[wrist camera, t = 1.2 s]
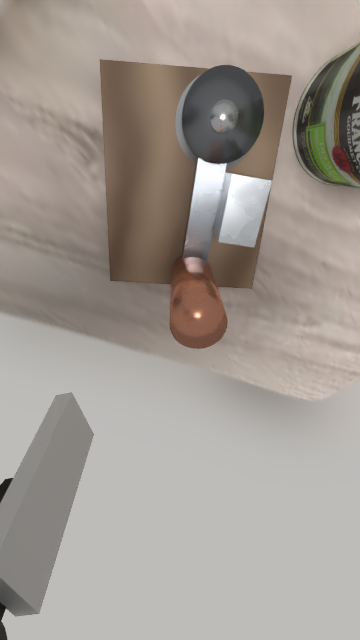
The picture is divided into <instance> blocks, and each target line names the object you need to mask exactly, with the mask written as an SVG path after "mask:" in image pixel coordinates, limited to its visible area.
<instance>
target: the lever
mask: <svg viewBox="0 0 360 640" xmlns="http://www.w3.org/2000/svg"><path fill="white" fill-rule="evenodd" d="M263 120H264V103H263V98H262V94H261V91H260V89H259V87H258V85H257V83H256V82H255V80H254V79H253V78H252V77H251V76H250V75H249V74H248V73H247V72H246V71H244V70H243V69H240V68H238V67H235V66H231V65H220V66H216V67H213V68H211V69H209V70H207V71H205V72H204V73H203V74H201V75H200V76H199V77H198V78H197V79H196V80H195V81H194V83H193V84H192V85H191V87H190V89H189V91H188V93H187V95H186V98H185V101H184V105H183V110H182V120H181V125H182V133H183V137H184V140H185V142H186V144H187V146H188V148H189V149H190V151H191V152H192V153H193V154H194V155H195V156H196V157H197V165H196V171H195V177H194V184H193V190H192V196H191V203H190V209H189V216H188V222H187V228H186V235H185V241H184V247H183V254H182V256H181V257H179V258H178V259H177V260H176V261H175V263H174V265H173V267H172V280H171V305H170V330H171V333H172V335H173V337H174V338H175V339H176V340H177V341H178V342H179V343H180V344H182V345H184V346H186V347H190V348H197V349H198V348H206V347H209V346H211V345H213V344H215V343H216V342H218V341H219V340H220V339H221V338H222V336H223V335H224V333H225V331H226V328H227V317H226V313H225V310H224V307H223V304H222V301H221V298H220V295H219V292H218V289H217V286H216V283H215V280H214V277H213V273H212V270H211V267H210V265H209V263H208V256H209V251H210V246H211V241H212V236H213V233H214V235H215V237H216V239H217V241H218V242H221V243H227V244H234V245H240V246H247V247H254V246H255V243H256V239H257V235H258V232H259V228H260V224H261V220H262V217H263V213H264V209H265V205H266V202H267V198H268V194H269V190H270V187H271V183H272V181H271V180H266V179H261V178H255V177H250V176H244V175H238V174H232V173H226V172H225V171H226V166H227V163H230V162H233V161H235V160H237V159H239V158H241V157H242V156H244V155H245V154H246V153H247V152H248V151H249V150H250V149H251V148H252V147H253V145H254V144H255V142H256V140H257V139H258V137H259V134H260V132H261V129H262V125H263Z"/></svg>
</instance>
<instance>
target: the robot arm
mask: <svg viewBox="0 0 360 640" xmlns="http://www.w3.org/2000/svg"><path fill="white" fill-rule="evenodd" d="M93 435H94V434H93V432H92V430H91V428H90V426H89V424H88V422H87V420H86V418H85V417H84V415H83V413H82V411H81V409H80V407H79V405H78V403H77V402H76V399H75V398H74V396H73V394H72V393H67V394H62V395H57V396H56V397H55V399H54V401H53V402H52V404H51V406H50V408H49V410H48V412H47V414H46V416H45V418H44V420H43V422H42V424H41V426H40V428H39V430H38V432H37V434H36V435H35V438H34V439H33V441H32V443H31V445H30V447H29V449H28V451H27V453H26V455H25V457H24V458H23V460H22V462H21V465H20V466H19V468H18V470H17V472H16V474H15V476H14V478H10V479H5V480H4V482H3V483H2V484H1V485H0V640H7V635H6V631H5V627H4V625H3V623H2V622H1V620H2V617H3V614H4V612H5V609H7V610H9V611H10V612H11V613H12V614H13V615H14V616H23V615H32V614H39V612H40V609H41V606H42V603H43V599H44V596H45V593H46V589H47V586H48V583H49V580H50V576H51V573H52V569H53V567H54V563H55V560H56V557H57V553H58V550H59V547H60V543H61V540H62V537H63V534H64V530H65V527H66V524H67V521H68V517H69V514H70V511H71V507H72V504H73V501H74V498H75V494H76V491H77V488H78V485H79V481H80V478H81V475H82V471H83V468H84V465H85V462H86V458H87V455H88V451H89V449H90V445H91V442H92V439H93Z"/></svg>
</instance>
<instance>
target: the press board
mask: <svg viewBox="0 0 360 640" xmlns="http://www.w3.org/2000/svg"><path fill="white" fill-rule="evenodd" d="M207 70H209V69H207V68H195V67H183V66H171V65H159V64H147V63H135V62H124V61H112V60H100V72H101V93H102V114H103V135H104V156H105V176H106V197H107V218H108V239H109V260H110V281H125V282H143V283H161V284H171V280H172V267H173V265H174V263H175V261H176V260H177V259H178V258H179V257H181V256H182V254H183V247H184V241H185V235H186V228H187V222H188V216H189V209H190V203H191V196H192V190H193V184H194V177H195V171H196V165H197V157H196V156H195V155H194V154H193V153H192V152H191V151H190V149H189V148H188V146H187V144H186V142H185V140H184V137H183V133H182V125H181V120H182V110H183V105H184V101H185V98H186V95H187V93H188V91H189V89H190V87H191V85H192V84H193V83H194V81H195V80H196V79H197V78H198V77H199V76H200V75H201V74H203V73H204V72H205V71H207ZM247 73H248V74H249V75H250V76H251V77H252V78H253V79H254V80H255V82H256V83H257V85H258V87H259V89H260V91H261V94H262V98H263V103H264V120H263V125H262V129H261V132H260V134H259V137H258V139H257V140H256V142H255V144H254V145H253V147H252V148H251V149H250V150H249V151H248V152H247V153H246V154H245V155H244V156H242V157H241V158H239V159H237V160H235V161H233V162H230V163H227V166H226V171H225V172H226V173H232V174H238V175H244V176H250V177H255V178H261V179H266V180H271V181H272V179H273V173H274V168H275V163H276V157H277V152H278V147H279V142H280V136H281V131H282V126H283V120H284V115H285V110H286V104H287V99H288V94H289V88H290V83H291V78H292V76H290V75H278V74H266V73H254V72H247ZM271 184H272V183H271ZM270 189H271V187H270ZM269 195H270V190H269V194H268V198H267V202H266V205H265V209H264V213H263V217H262V220H261V224H260V228H259V232H258V235H257V239H256V243H255V246H254V247H247V246H240V245H234V244H227V243H221V242H218V241H217V239H216V237H215V235H214V233H213V236H212V241H211V246H210V251H209V256H208V263H209V265H210V267H211V270H212V273H213V277H214V280H215V283H216V286H217V287H233V288H251V289H252V285H253V280H254V275H255V269H256V264H257V259H258V253H259V248H260V243H261V237H262V232H263V227H264V221H265V216H266V211H267V205H268V200H269Z"/></svg>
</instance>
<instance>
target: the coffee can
mask: <svg viewBox="0 0 360 640" xmlns="http://www.w3.org/2000/svg"><path fill="white" fill-rule="evenodd" d="M293 139H294V147H295V151H296V154H297V157H298V160H299V162H300V164H301V165H302V167H303V168H304V170H305V171H306V172H307V173H308V174H309V175H310V176H312V177H313V178H314V179H316V180H318V181H320V182H322V183H325V184H329V185H344V186H351V187H358V188H360V42H359V43H357V44H356V45H354V46H353V47H351V48H350V49H348V50H346V51H344V52H342V53H340V54H339V55H337V56H335V57H334V58H332V59H331V60H330V61H329V62H327V63H326V64H325V65H324V66H323V67H322V68H321V69H320V70H319V71H318V72H317V73H316V74H315V76H314V77H313V78H312V80H311V81H310V82H309V84H308V86H307V87H306V89H305V91H304V93H303V95H302V97H301V99H300V102H299V104H298V108H297V111H296V114H295V119H294V128H293Z"/></svg>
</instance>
